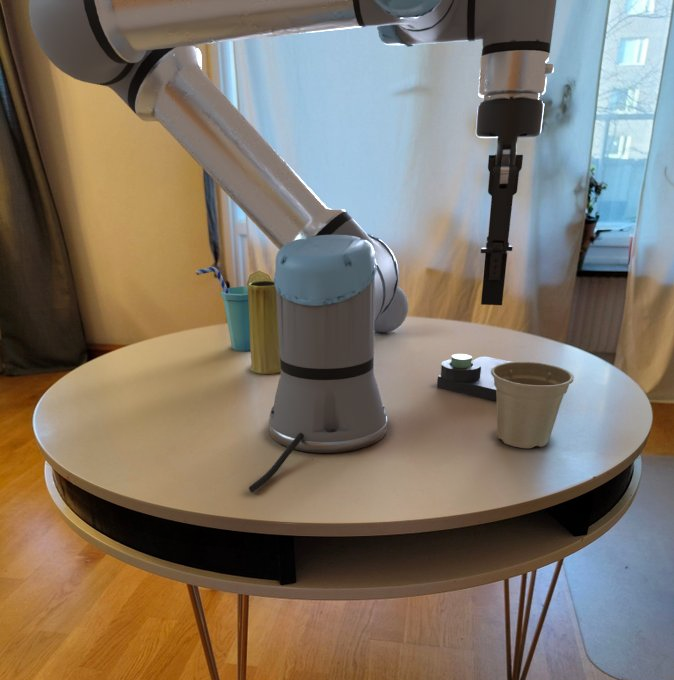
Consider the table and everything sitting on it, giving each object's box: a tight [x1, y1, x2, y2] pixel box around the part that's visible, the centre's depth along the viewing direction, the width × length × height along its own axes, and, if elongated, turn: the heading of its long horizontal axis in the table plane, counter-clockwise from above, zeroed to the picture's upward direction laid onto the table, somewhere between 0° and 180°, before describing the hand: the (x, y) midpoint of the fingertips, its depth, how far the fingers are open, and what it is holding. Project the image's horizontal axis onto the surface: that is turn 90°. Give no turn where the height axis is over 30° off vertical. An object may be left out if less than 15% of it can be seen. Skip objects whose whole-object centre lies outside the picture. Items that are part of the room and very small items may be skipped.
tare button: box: [451, 353, 473, 368], centre depth 93 cm, size 3×3×2 cm
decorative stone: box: [374, 286, 409, 334], centre depth 123 cm, size 10×10×10 cm
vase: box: [248, 280, 281, 375], centre depth 101 cm, size 6×6×14 cm
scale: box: [436, 355, 512, 402], centre depth 95 cm, size 14×13×4 cm
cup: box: [195, 266, 274, 352], centre depth 113 cm, size 14×8×15 cm, turn 95°
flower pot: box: [491, 361, 575, 449], centre depth 74 cm, size 9×9×9 cm
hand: (491, 303), depth 81 cm, fingers closed
